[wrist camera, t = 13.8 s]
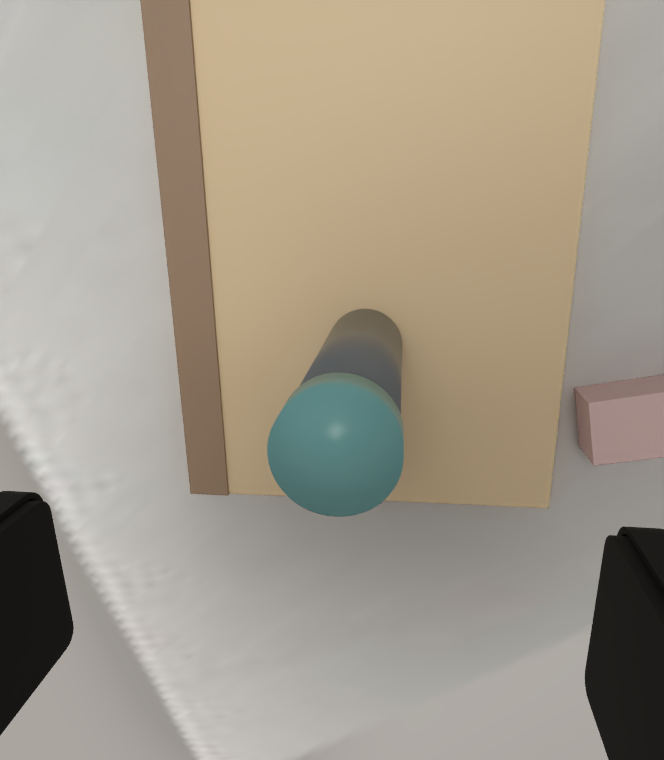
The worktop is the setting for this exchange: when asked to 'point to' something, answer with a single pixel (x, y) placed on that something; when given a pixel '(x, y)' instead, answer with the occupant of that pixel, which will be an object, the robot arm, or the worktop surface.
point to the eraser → (621, 420)
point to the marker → (344, 421)
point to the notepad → (375, 220)
